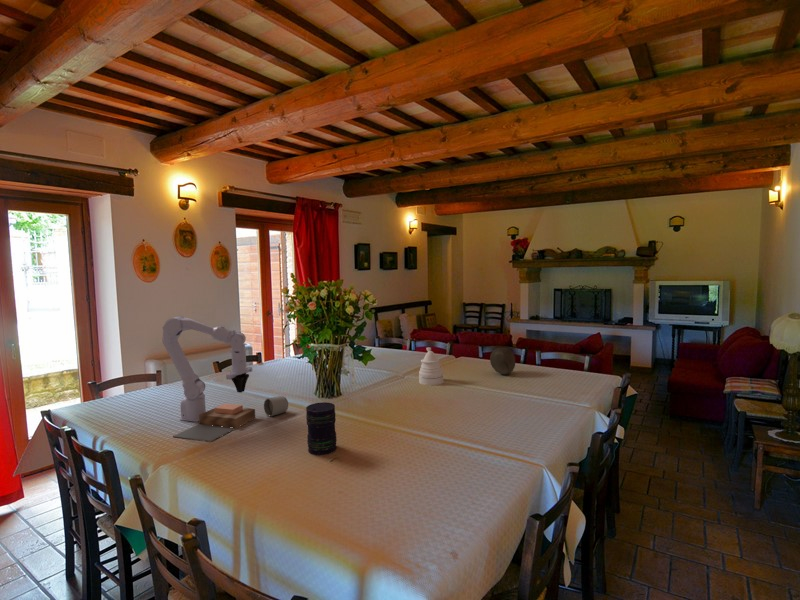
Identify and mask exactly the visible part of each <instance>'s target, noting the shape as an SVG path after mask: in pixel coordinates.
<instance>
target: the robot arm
mask: <svg viewBox="0 0 800 600" xmlns="http://www.w3.org/2000/svg"><path fill="white" fill-rule="evenodd" d="M190 330H193V331H197V332H199V333H200V332H201V333H203V334H206V335H211V337H212V340H216V341H219V342H222V343H225V344H227V345H230V346H231V350H230V351H231V367H232V371H230V372H229V373H227V374H226V375H225V376H226V377H225V378H226V380H228V381H229V380H230V381H232V383H233V384H234V386H235V390H236V392H237V393H244V392H245V389H246V384H247V381H248V378H249V377H250V374H249V373H252V372H253V367H252V366H247V355H246V354H247V353H246V350H247V349H246V345H245V342H246V335H245V334H244V333H242V331H237V332H236V329H235V330H234V329H233V330H231V329H228V328H226V327H225V326H224V325H221V326H220V325H218V326H215V327H213V326H211V325H209V324H208V325H207V324H206V323H202V322H200V321H198V320H196V319H193V318H190V317H184V316H181V315H177V316H175V317H171V318H168V319H167V320H166V321H165V323H164V324H163V326H162V331H163V332H162V345H163V346H164V348H165V350H166V352H167V354H168V356H169V357H170V359H171V361H172V363H173V364H174V367H175V369H176V370H177V373H178V374H179V376H180V379H181V380H182V382H181V383H182V388H183V395H184V396H185V397H183V398H182V400H181V401H180V405H179V407H180V416H181V417H180V419H179V420H180V421H186V422H187V421H188V422H195V423H196V422H197V423H198V422H199V415H200V414H202V413H205V412H207V409H206V395H205V394H204V392H205V390H206V383H205V381H203V380H202V379H200V377H199V375H197V374H196V373H195V372H194V369H193V368H192V366H191V364H190V362H189V360H188V358H187V357H186V355H185V353H184V351H183V348H182V347H181V344H180V343H179V338H180V337H181V336H180V335H181V334H182V332H184V331H190Z"/></svg>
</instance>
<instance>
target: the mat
mask: <svg viewBox="0 0 800 600" xmlns="http://www.w3.org/2000/svg"><path fill="white" fill-rule="evenodd" d="M233 429H235V430H236V428H230V427H221V426H212V425H202V424H200V423H198V424H196V425H194V426H191V427H189V428H187V429H185V430H182V431H181V432H179V433H177V434H174V435H172V438H175V437H176V438H177V439H183V438H184V440H191V439H196V440H195V441H200V440H205V441H204V442H208V441H212V442H214V441H216V440H217V439H216V438H218V437H220V436H222V435H223V436H225V435H226V433H227V434H229V433H230V432H229V431H231V430H233ZM233 431H234V430H233ZM228 432H229V433H228ZM231 432H232V431H231ZM224 434H225V435H224ZM223 436H222V437H223ZM220 438H221V437H220ZM215 439H216V440H215ZM218 439H219V438H218ZM213 440H214V441H213Z"/></svg>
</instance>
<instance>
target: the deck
mask: <svg viewBox="0 0 800 600" xmlns="http://www.w3.org/2000/svg"><path fill="white" fill-rule="evenodd" d="M215 408H216V407H213V408H211V409H209V410H206V412H205V413H202V414H200V415H199V421H198V422H199V423H198V424H202V425H213V426H223V427H233V428H235V429H238V428H240V427H241V426H240V425H242V424H244V423H246V422H247V423H249V422H251V421H253V420H255V419H256V409H255V408H248V407H243V410H241V411H239V412H237V413H235V414H224V413H215ZM254 418H255V419H254ZM252 419H253V420H252ZM250 420H251V421H250ZM248 421H249V422H248ZM247 423H246V424H247ZM244 425H245V424H244ZM239 426H240V427H239ZM242 426H243V425H242ZM237 427H238V428H237Z"/></svg>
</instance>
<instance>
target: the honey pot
mask: <svg viewBox="0 0 800 600" xmlns="http://www.w3.org/2000/svg"><path fill="white" fill-rule="evenodd" d="M425 348H426V351H427V352H426V353H425V355H424V358H422V359H420V362H421V365H420V369H419V372H418V382H419V384H420V385H422V386H423V385H425V386H438V385H441V384H444V371H443V368H442V365H441V363H440V359H439V358H438V357H437V355H436V354H435V352H434V351H432V347H425Z"/></svg>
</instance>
